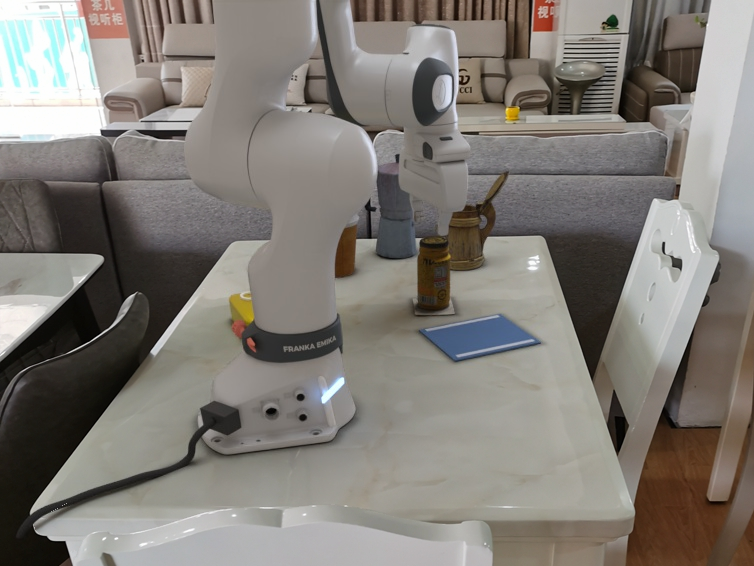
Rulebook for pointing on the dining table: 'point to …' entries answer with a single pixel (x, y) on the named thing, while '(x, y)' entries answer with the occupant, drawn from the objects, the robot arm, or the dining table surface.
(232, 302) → the element tile
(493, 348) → the napkin
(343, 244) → the disposable coffee cup
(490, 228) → the wooden mug
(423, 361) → the dining table surface
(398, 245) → the moka pot
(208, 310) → the dining table surface
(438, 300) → the condiment
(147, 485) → the dining table surface
